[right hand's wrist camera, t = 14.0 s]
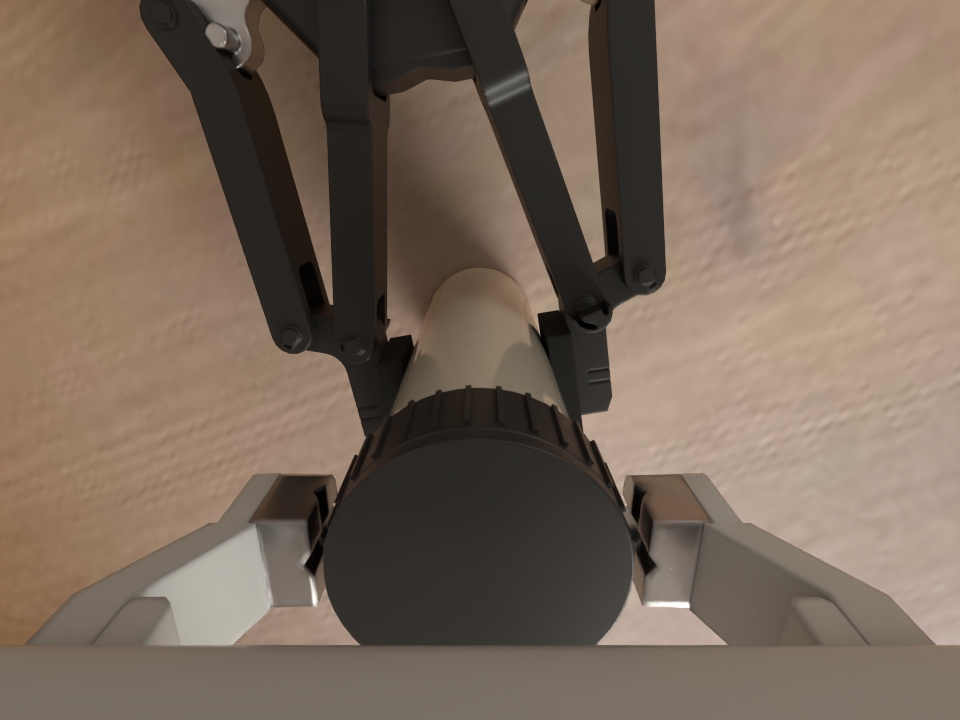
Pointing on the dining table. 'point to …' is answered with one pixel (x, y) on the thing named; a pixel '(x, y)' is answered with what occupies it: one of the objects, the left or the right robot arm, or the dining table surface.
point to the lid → (478, 528)
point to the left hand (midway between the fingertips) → (503, 499)
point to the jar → (479, 342)
